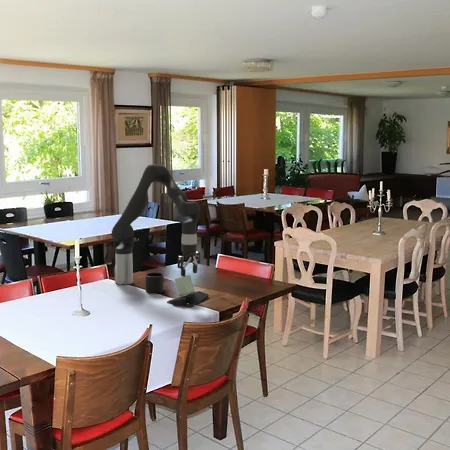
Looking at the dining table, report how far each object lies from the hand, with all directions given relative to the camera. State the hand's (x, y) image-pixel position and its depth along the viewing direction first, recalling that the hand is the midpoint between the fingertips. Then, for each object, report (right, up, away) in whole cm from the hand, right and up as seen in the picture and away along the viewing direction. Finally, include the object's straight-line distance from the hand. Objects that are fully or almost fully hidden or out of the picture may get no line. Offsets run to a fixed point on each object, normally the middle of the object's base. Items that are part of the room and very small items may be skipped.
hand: (189, 274), depth 275 cm
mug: (-19, -11, +22) cm, 31 cm away
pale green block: (-1, -10, +3) cm, 11 cm away
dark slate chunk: (0, -14, +4) cm, 15 cm away
